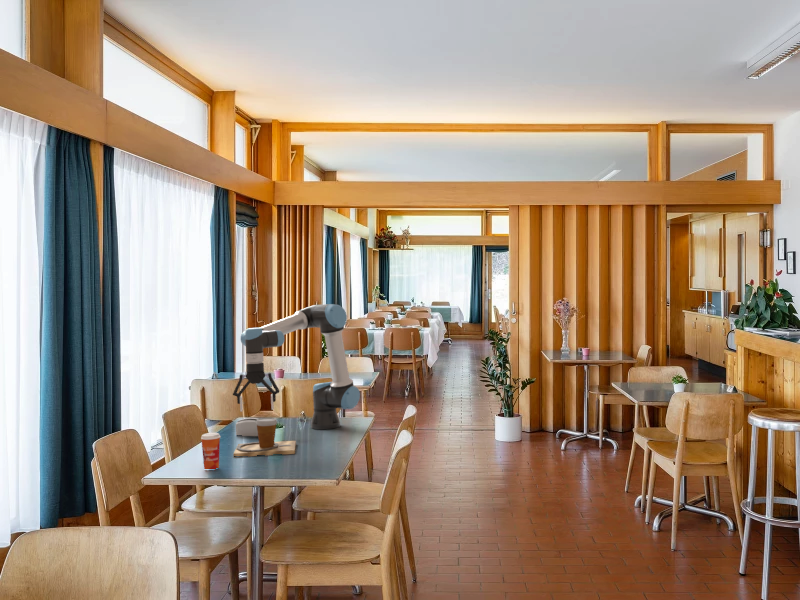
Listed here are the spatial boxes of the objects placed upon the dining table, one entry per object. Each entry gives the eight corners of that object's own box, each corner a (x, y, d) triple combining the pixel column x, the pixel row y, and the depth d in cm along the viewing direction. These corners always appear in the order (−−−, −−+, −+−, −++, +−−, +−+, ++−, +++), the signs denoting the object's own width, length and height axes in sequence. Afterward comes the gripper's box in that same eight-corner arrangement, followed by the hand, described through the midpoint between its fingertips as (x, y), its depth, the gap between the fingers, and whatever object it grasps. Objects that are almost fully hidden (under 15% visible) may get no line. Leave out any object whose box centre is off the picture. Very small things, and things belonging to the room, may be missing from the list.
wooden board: (295, 444, 322) (295, 439, 322) (294, 453, 302) (294, 448, 302) (238, 447, 318) (238, 442, 318) (233, 457, 298) (233, 452, 298)
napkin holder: (271, 433, 347) (268, 416, 344) (268, 439, 343) (265, 421, 340) (239, 433, 350) (236, 416, 347) (236, 438, 346) (232, 421, 343)
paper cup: (198, 471, 275) (197, 436, 275) (205, 466, 283) (204, 432, 283) (218, 471, 275) (217, 436, 275) (224, 466, 282) (223, 432, 282)
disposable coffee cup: (254, 445, 314) (254, 418, 314) (275, 443, 316) (275, 417, 316) (257, 449, 304) (256, 422, 304) (278, 447, 307) (278, 420, 307)
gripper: (225, 365, 304) (227, 413, 304) (283, 362, 307) (285, 409, 307) (227, 363, 311) (229, 410, 312) (283, 360, 315) (285, 407, 315)
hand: (257, 410), depth 310 cm, fingers open, 13 cm apart
